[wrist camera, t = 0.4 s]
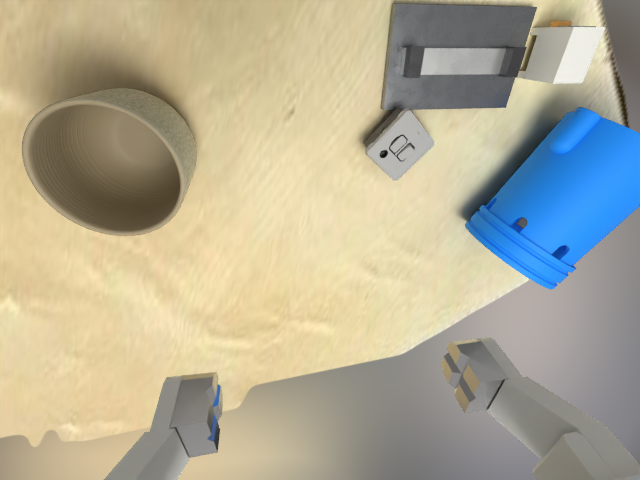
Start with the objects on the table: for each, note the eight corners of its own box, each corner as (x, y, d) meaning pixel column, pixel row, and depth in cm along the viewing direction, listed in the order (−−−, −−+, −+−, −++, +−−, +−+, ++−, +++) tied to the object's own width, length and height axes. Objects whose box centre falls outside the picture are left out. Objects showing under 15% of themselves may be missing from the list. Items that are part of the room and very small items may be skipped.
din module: (534, 21, 49) (576, 19, 43) (562, 22, 50) (608, 20, 43) (516, 77, 53) (552, 83, 47) (543, 77, 54) (582, 83, 48)
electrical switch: (363, 154, 51) (412, 114, 47) (356, 137, 54) (401, 97, 50) (394, 183, 57) (439, 149, 53) (385, 166, 60) (428, 133, 56)
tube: (509, 245, 75) (577, 303, 59) (444, 210, 66) (503, 266, 50) (600, 152, 64) (712, 192, 48) (537, 97, 56) (647, 122, 40)
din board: (392, 4, 45) (403, 1, 41) (529, 7, 48) (552, 5, 44) (380, 108, 53) (389, 114, 49) (500, 105, 56) (517, 111, 52)
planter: (163, 61, 45) (124, 73, 32) (222, 167, 54) (210, 209, 41) (58, 106, 46) (-21, 134, 33) (134, 203, 55) (96, 254, 42)
